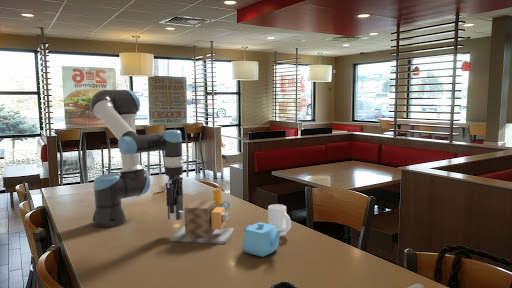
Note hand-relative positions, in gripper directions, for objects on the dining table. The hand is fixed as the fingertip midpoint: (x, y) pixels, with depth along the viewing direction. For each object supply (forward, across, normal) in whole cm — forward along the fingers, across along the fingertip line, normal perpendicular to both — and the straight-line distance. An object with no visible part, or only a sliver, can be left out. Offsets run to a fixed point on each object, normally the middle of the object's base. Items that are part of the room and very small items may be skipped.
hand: (175, 217), depth 166 cm
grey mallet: (0, 0, -11) cm, 11 cm away
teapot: (+8, -14, -42) cm, 44 cm away
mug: (+7, +6, -46) cm, 46 cm away
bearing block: (+7, 0, -12) cm, 14 cm away
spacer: (-1, 0, -20) cm, 20 cm away
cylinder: (+7, +23, -12) cm, 27 cm away
